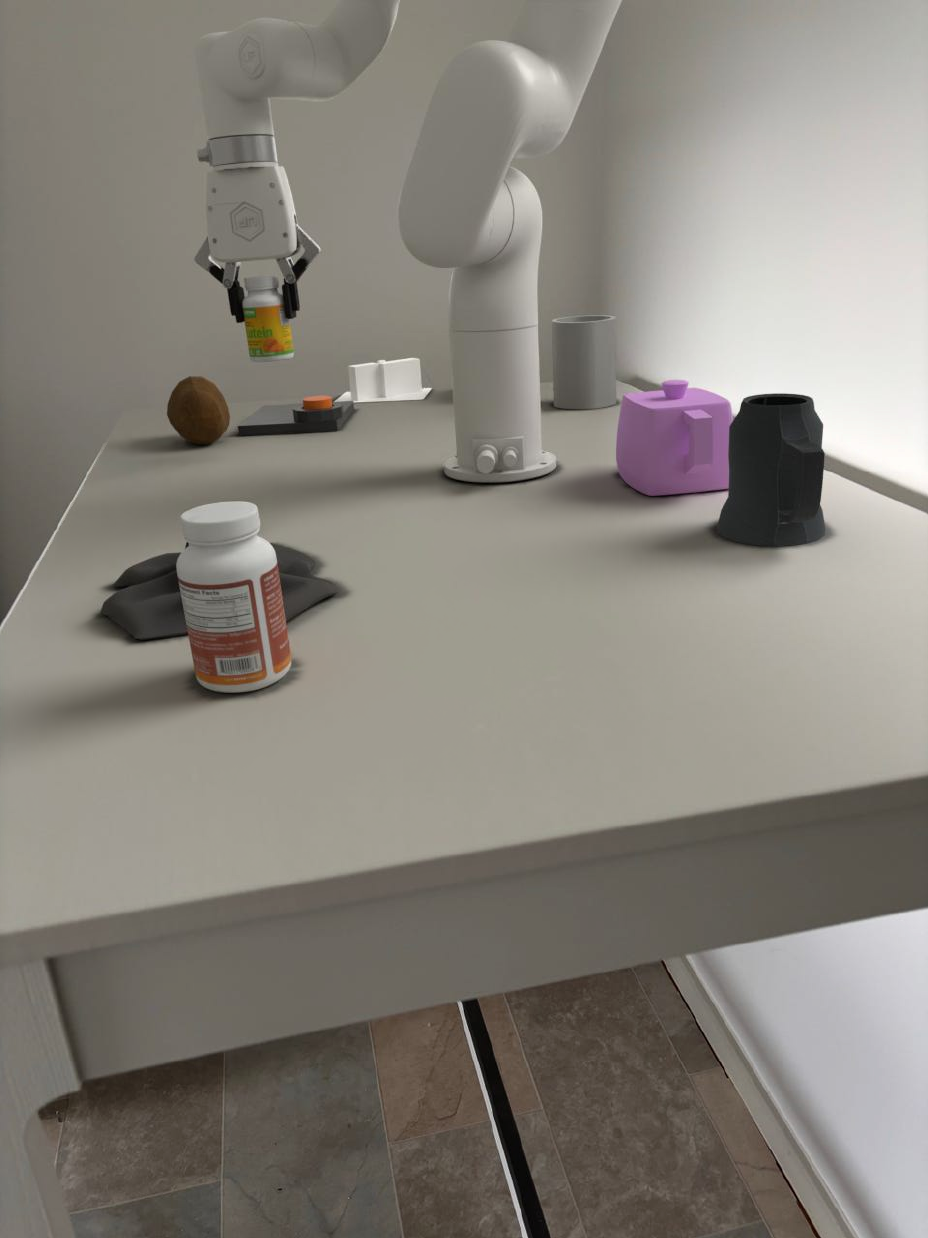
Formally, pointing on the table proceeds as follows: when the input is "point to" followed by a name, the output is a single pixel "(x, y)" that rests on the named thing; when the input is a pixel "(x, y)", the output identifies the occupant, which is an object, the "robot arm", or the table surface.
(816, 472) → the mug
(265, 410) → the dark grey button base
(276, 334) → the supplement bottle
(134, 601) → the cloth
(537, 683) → the table surface
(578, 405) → the cup
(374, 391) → the napkin holder
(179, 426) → the potato
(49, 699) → the table surface
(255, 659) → the pill bottle
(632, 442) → the teapot
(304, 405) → the button
